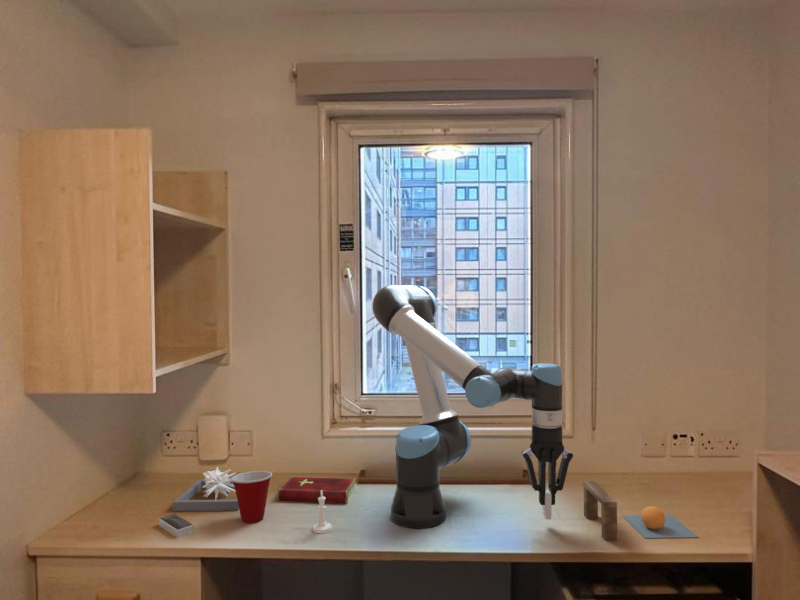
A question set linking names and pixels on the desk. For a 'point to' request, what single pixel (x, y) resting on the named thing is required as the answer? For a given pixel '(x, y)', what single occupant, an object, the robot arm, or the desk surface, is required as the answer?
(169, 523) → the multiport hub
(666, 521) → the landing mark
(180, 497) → the ball rest frame
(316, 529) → the chess piece
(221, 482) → the spiky ball
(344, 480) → the hardcover book
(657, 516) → the ball
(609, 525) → the bridge
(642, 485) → the desk surface
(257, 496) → the plastic cup
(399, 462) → the robot arm
